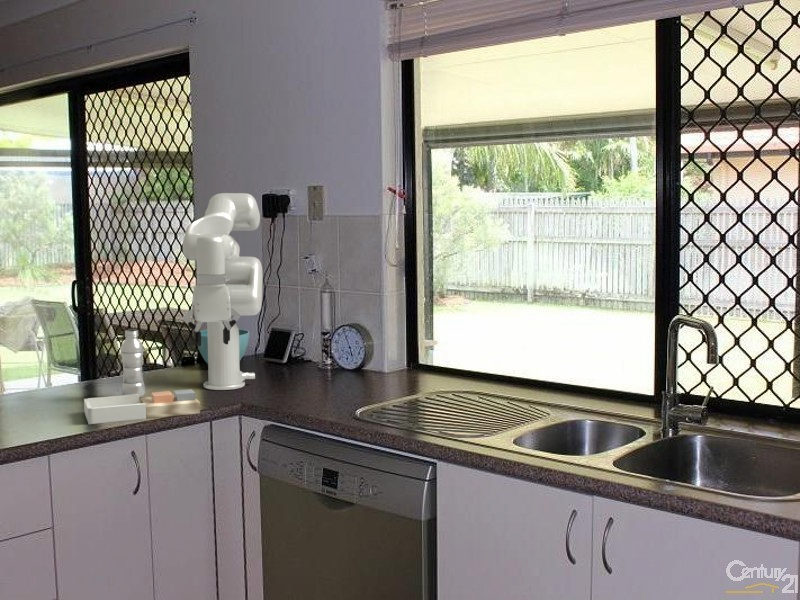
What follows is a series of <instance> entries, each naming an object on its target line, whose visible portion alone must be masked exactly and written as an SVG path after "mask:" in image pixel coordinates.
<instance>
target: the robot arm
mask: <svg viewBox="0 0 800 600" xmlns="http://www.w3.org/2000/svg"><path fill="white" fill-rule="evenodd" d="M260 221H261V215H260V210H259V206H258V202H257V200H256V198H255V197H254V196H253V195H252V194H250V193H247V192H246V193H245V192H244V193H243V192H236V193H235V192H221V193H217V194H215V195H213V196H211V198H210V199H209V201H208V204H207V208H206V209H205V212H204V216H202V217H200V218H198V219H196V220H194V221H192V222H191V223H189V225H188V226H187V228H186V230H185V232H184V237H183V241H182V253H183V255H184V257H185V259H187V260H189V261H196V283H197V284H196V285H194V286H193V290H192V303H191V309H189V310H188V312H186V314H185V313H184V315H183V316H182V317H181V318H182V320H183V321H184V323H185V324H187V326H188V327H190V328H191V329H192V330H193V331H194V332H193V333H194V334H193V337H194V338H193V339H194V340H193V341H194V344H196V346H197V347H198V346H201V332H200V331H201V330H200V329H201V327H202V325H203V323H206V324H207V325H206V326H207V327H206V328H207V329H206V330H208V364H207V367H208V370H207V373H208V380H206V381H205V382H203V388H204V389H207V390H214V391H227V390H228V391H229V390H236V389H237V390H238V389H241V388H243V387H245V385H246V382H245V380H255V379H256V373H255V372H247V371H246V372H243V371H241V370H240V362H239V330H238V329H239V327H238V325H237V324H236V323H237V322H238V321H239V319H240V318H241V317H245V316H249V317H250V316H256V315H258V314H259V313H260V312H261V310H262V305H263V304H262V303H263V279H264V278H263V266H262V262H261V261H260V259H259V258H257V257H256V256H240V252H241V251H240V249H241V248H240V245H239V243H238V242H237V241H236V239H235V238H234V237H233V236H232V235H230V233H232V232H235V231H236V232H241V231H242V232H244V231H245V232H247V231H249V232H251V231H255V230H257V229H258V228H259V226H260ZM231 317H233V318H231ZM190 318H192V319H193V320H194V321H195V323H193V322H192V321H191V319H190Z"/></svg>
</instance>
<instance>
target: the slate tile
mask: <svg viewBox="0 0 800 600" xmlns="http://www.w3.org/2000/svg"><path fill="white" fill-rule="evenodd" d="M173 395H174V399H175V400H176V401H189V400H195V398H196V391H194V390H193V389H192V388H191V389H189V388H188V389H179V390H178V389H177V390H173Z"/></svg>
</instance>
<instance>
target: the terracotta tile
mask: <svg viewBox="0 0 800 600" xmlns="http://www.w3.org/2000/svg"><path fill="white" fill-rule="evenodd" d="M150 394H151V395H150V397H151V400H152V401H153V402H154V403H166V402H173V395H174V393H172V392H171V390H164V391H156V392H152V391H151V393H150Z"/></svg>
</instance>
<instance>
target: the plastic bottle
mask: <svg viewBox="0 0 800 600" xmlns="http://www.w3.org/2000/svg"><path fill="white" fill-rule="evenodd" d="M138 337H139V329H126V330H124V338H125V339H124V341H123V342H122V344H121V345H120V349H119V350H120V355H121V360H122V361H121V362H122V367H123V368H122V369H123V374H122V376H123V377H122V385H121V393H122V395H134V394H139V398H143V397H144V395H145V393H146V385H145V383H144V382H145V381H144V376H143V357H144V346H143V343H142V342H141V341H140V339H139V338H138Z"/></svg>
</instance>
